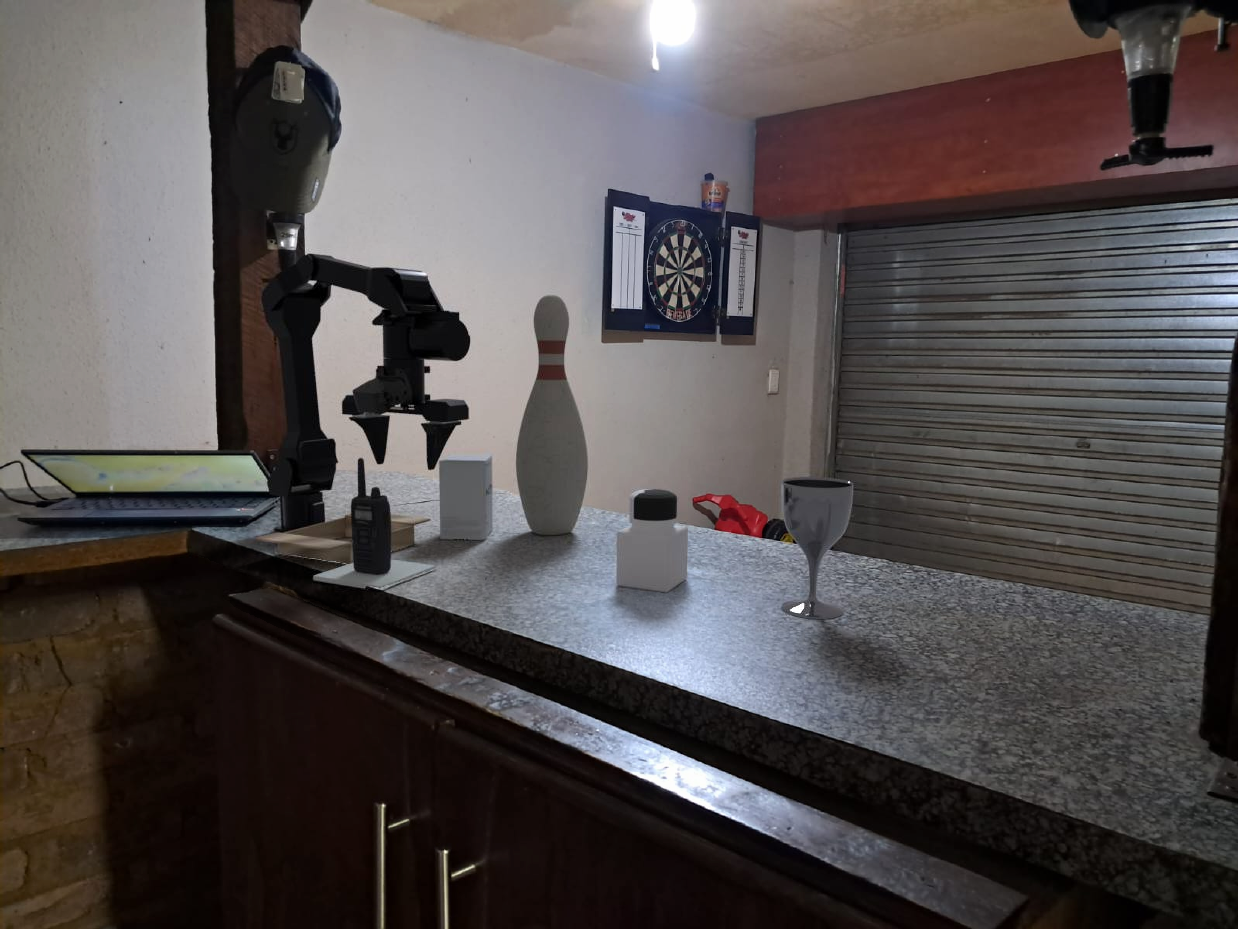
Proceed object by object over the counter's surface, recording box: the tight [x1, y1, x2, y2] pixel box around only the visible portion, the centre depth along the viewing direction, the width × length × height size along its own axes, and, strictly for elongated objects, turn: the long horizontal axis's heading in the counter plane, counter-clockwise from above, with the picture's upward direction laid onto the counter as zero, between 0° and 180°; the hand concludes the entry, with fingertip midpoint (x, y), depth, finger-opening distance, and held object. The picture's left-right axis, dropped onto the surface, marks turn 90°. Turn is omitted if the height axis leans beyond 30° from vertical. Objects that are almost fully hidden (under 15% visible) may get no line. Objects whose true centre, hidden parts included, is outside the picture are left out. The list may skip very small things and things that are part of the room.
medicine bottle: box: [615, 488, 689, 593], centre depth 107 cm, size 7×7×12 cm
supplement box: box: [438, 454, 494, 541], centre depth 133 cm, size 7×7×13 cm
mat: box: [312, 558, 437, 590], centre depth 111 cm, size 11×11×1 cm
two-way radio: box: [350, 457, 392, 575], centre depth 110 cm, size 6×4×15 cm
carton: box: [254, 513, 432, 564], centre depth 124 cm, size 14×22×3 cm, turn 155°
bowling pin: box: [515, 294, 589, 536], centre depth 134 cm, size 11×12×38 cm
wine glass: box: [780, 476, 854, 620], centre depth 97 cm, size 8×8×15 cm
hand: (405, 466), depth 122 cm, fingers open, 9 cm apart
